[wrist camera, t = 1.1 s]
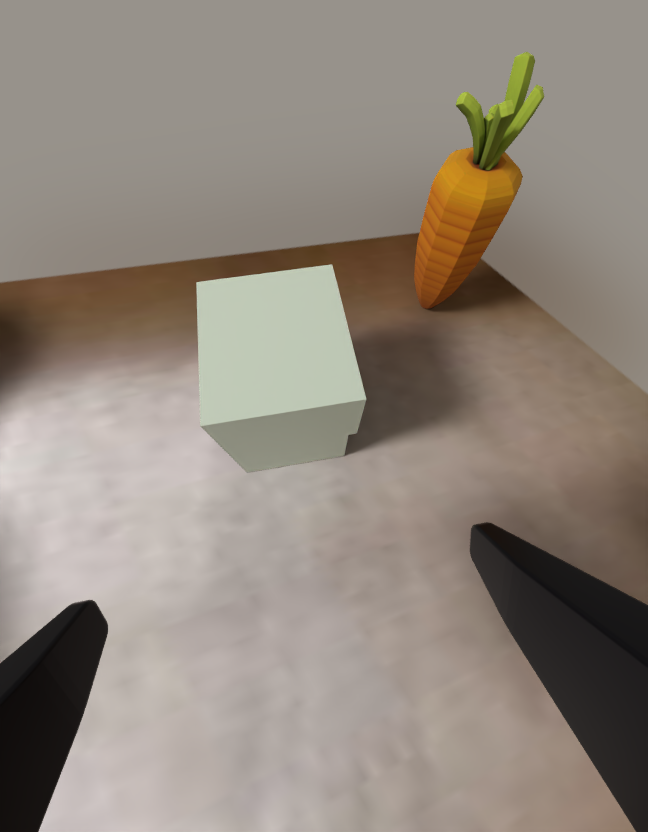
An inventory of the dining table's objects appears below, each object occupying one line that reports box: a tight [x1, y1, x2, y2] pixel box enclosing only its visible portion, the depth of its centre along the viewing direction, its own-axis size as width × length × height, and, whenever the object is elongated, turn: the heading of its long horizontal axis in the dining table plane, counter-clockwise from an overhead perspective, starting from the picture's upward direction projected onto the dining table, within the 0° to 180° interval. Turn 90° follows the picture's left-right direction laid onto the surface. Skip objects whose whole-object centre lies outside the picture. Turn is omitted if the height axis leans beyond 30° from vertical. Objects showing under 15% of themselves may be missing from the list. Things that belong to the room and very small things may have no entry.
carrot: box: [414, 52, 544, 309], centre depth 21 cm, size 5×5×15 cm
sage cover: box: [197, 265, 366, 473], centre depth 20 cm, size 8×7×9 cm
